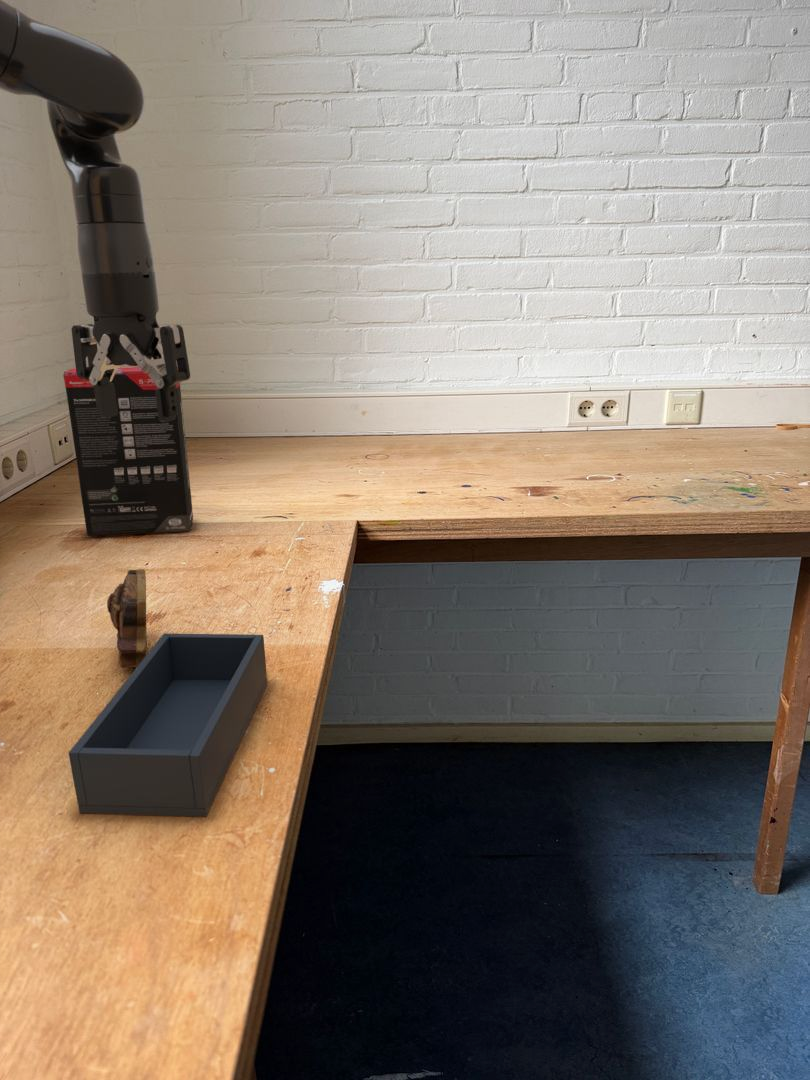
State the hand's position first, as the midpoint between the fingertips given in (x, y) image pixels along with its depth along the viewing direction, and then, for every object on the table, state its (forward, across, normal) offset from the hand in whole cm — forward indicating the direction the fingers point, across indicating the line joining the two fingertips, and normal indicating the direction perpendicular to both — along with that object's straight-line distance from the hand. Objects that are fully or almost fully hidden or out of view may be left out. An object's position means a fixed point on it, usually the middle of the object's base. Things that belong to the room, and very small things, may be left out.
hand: (138, 418), depth 91 cm
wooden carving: (+26, +3, -9) cm, 28 cm away
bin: (+26, +19, -20) cm, 38 cm away
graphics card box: (+26, -28, +28) cm, 48 cm away
